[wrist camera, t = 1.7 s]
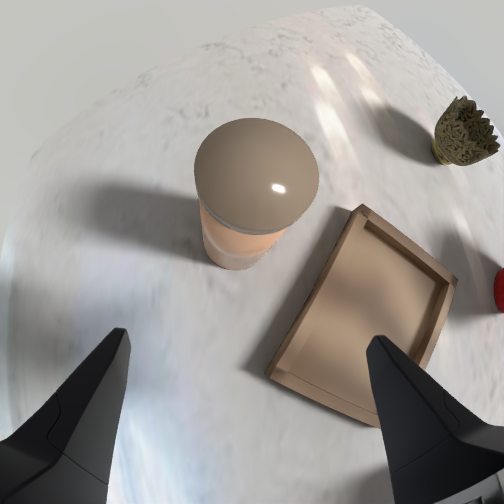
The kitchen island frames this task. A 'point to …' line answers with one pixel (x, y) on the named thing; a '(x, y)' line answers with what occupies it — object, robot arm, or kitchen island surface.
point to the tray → (363, 315)
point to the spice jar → (251, 188)
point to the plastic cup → (499, 290)
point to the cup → (463, 135)
